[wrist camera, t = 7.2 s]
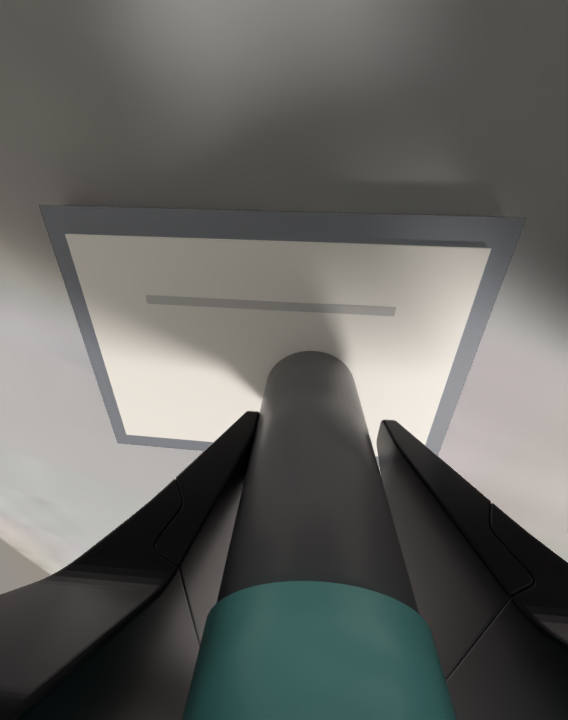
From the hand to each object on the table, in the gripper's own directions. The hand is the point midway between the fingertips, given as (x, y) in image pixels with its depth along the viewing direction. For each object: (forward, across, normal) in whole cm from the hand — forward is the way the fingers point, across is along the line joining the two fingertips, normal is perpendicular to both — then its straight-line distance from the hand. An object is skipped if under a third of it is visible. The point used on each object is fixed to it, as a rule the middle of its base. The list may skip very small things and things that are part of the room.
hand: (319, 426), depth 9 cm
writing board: (+3, +2, -1) cm, 4 cm away
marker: (+2, 0, 0) cm, 2 cm away
